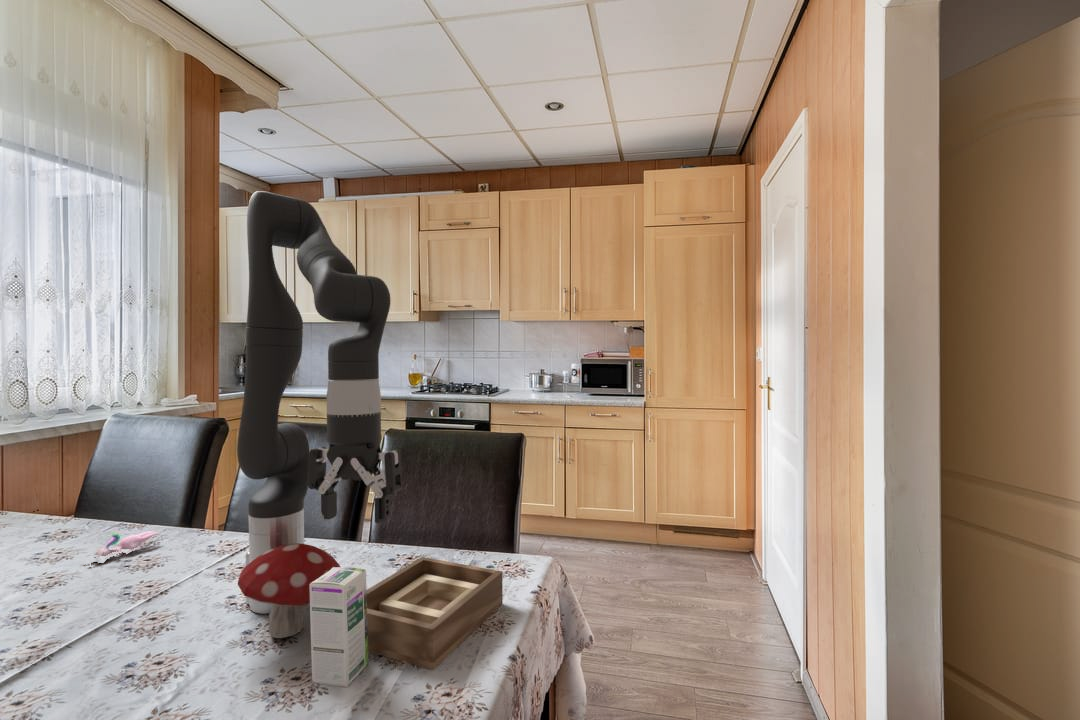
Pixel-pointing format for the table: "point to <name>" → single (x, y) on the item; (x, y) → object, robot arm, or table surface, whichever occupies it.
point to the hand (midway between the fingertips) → (355, 519)
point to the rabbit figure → (125, 543)
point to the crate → (429, 609)
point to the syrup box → (338, 626)
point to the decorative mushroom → (285, 583)
